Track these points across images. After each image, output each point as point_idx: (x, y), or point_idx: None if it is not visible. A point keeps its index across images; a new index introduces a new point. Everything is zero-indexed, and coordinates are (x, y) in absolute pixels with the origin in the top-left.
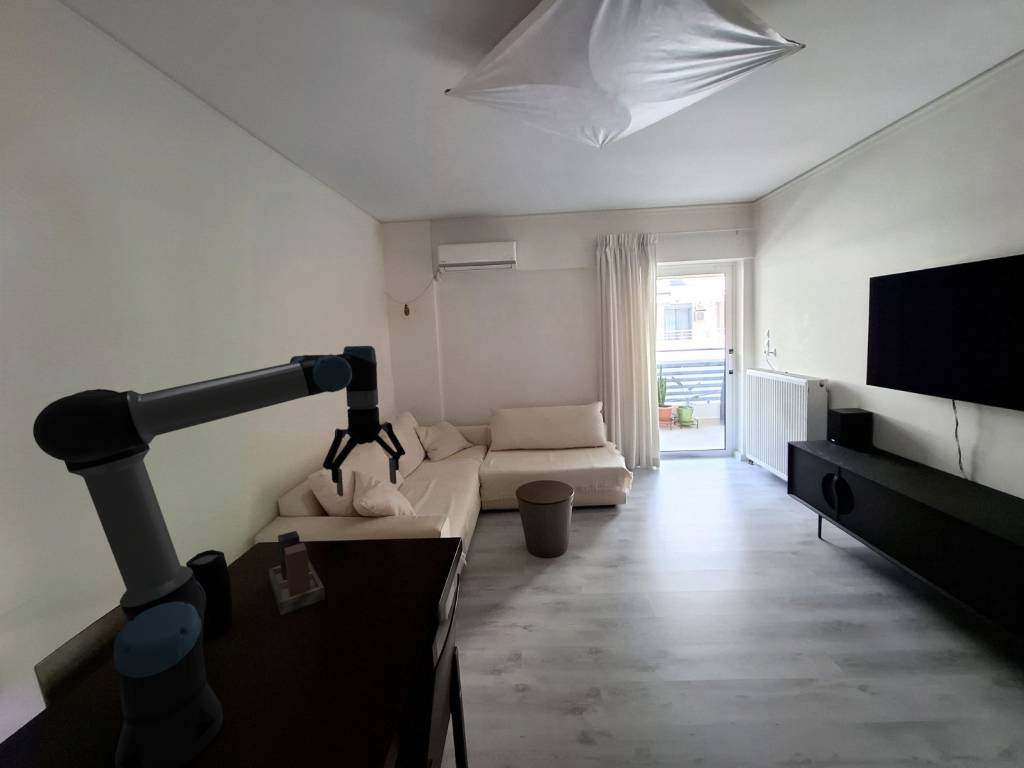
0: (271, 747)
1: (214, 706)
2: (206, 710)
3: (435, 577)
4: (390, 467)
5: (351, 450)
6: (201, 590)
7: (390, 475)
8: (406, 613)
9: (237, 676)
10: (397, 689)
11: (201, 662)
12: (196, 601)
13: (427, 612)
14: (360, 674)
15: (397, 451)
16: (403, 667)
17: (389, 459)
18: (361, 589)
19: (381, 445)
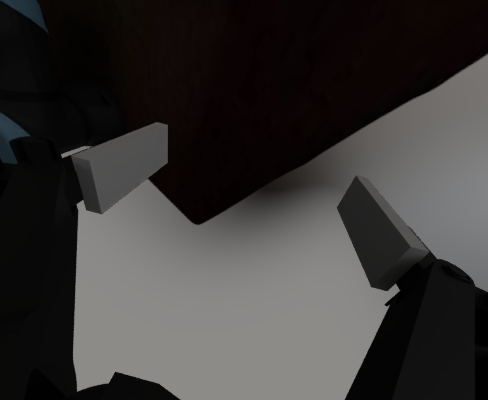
0: (152, 175)
1: (110, 133)
2: (103, 139)
3: (377, 106)
4: (373, 225)
5: (73, 328)
6: (2, 5)
7: (361, 197)
8: (291, 139)
9: (134, 77)
10: (226, 203)
11: (70, 141)
12: (8, 66)
13: (304, 158)
14: (215, 171)
15: (479, 316)
16: (241, 193)
17: (398, 251)
18: (298, 24)
19: (353, 393)
